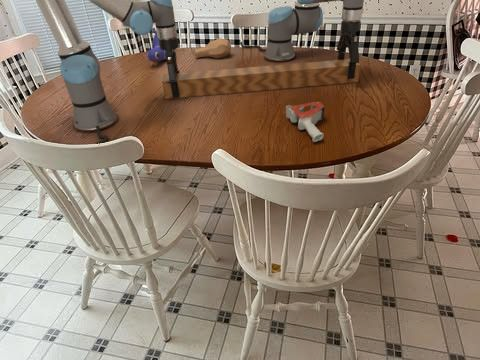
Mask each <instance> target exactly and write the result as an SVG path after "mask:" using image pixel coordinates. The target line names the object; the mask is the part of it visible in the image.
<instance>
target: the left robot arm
mask: <svg viewBox="0 0 480 360" xmlns="http://www.w3.org/2000/svg"><path fill="white" fill-rule="evenodd" d="M87 1H88V2H90V3H91V4H92V5H94V6H96V7H98V8H99V9H101V10H102V11H104V12H105V13H107V14H108V15H110V16H112V17H113V18H114V19H116V20H117V21H119V22H121V24H122V26H123V27H125V28H126V27H128V28H130V29H131V31H133V32H134V33H135V34H137V35H139V36H146V35H148V34H149V33H151V32H152V31H153V29H154V28H153V26H154V24H155V31H157V37H158V38H159V40H158V41H159V47H160V49H161V50H165V51H166V54H165V58H166V59H165V61H166V65H167V74H169V80H170V81H169V83H171V89H172V95H173V98H172V99H179V98H178V97H180V96H179V89H178V83H177V80H176V73H181V72H180V70H179V67H178V62H177V52H176V51H175V50H176V49H178V48H179V47H180V45H179V44H180V43H179V38H178V33H177V31H178V30H179V28H178V27H176V19H175V12H174V5H173V1H172V0H147V1H137V2H134V1H132V0H87ZM35 2H36V4H37V6H38V8H39V10H40V12H41V14H42V16H43V18H44V20H45V22H46V24H47V26H48V28H49V30H50V32H51V35H52V36H53V38H54V40H55V43H56V44H57V46H58V50H57V55H58V58H59V59H60V61H61V62H60V64H59V69H60V75H61V77H62V79H63V82H64V84H65V87H66V90H67V93H68V95H69V99H70V101H71V104H72V108H73V114H72V117H73V118H72V119H73V125H74V128H75V129H76V131H78V132H84V133H92V132H96V133H97V137H98V138H100V139H101V140H99V141H96V143H95V144H98V143H101V144H103V143H105V142H107V141H108V140H109V136H107V135H101V131H102V130H105V129H107V128H110V127H111V126H113V125H115V124H116V122H117V121H118V116H117V114H116V111H115V110H114V108H113V107H112V105H111V103H110V102H109V101H108V99H107V96H106V92H105V90H104V87H103V86H104V85H103V83H102V79H101V66H100V62H99V59H98V57H97V56H96V54H95V52H94V50H93V49H92V47H91V44H90V42H88V41H86V40H84V39H83V37H82V34H81V33H80V31H79V28H78V26H77V24H76V21H75V20H74V18H73V15H72V12H71V11H70V9H69V7H68V5H67V3H66V0H35Z"/></svg>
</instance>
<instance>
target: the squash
mask: <svg viewBox="0 0 480 360" xmlns="http://www.w3.org/2000/svg"><path fill="white" fill-rule="evenodd" d="M231 51H232V45H231V42H230V40H229V39H226V38H221V37H218V38H216V39H213V40H211V41H209V42H208V44H207V45H205V46H203V47H200V48H194V56H195V58H196V59H199V58H203V57H211V58H214V59H221V58H225V57H227V56H228V55H229V54H231Z"/></svg>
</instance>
